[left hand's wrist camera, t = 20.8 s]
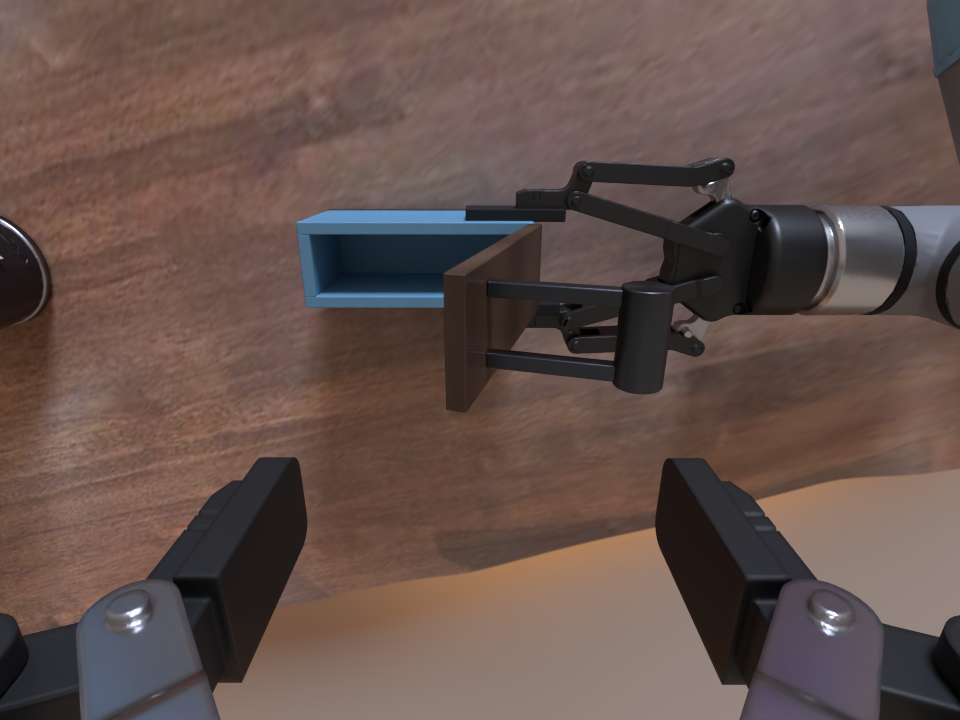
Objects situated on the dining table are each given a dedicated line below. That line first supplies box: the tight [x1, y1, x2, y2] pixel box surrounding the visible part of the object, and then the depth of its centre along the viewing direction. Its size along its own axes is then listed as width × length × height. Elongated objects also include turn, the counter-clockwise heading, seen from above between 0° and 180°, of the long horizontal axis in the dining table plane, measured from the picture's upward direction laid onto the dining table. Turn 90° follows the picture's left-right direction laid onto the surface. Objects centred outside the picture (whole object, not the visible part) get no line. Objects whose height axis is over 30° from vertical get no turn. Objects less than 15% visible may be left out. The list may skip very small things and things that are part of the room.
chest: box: [296, 209, 534, 308], centre depth 39 cm, size 15×6×9 cm, turn 90°
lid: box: [443, 224, 676, 412], centre depth 27 cm, size 16×6×8 cm
